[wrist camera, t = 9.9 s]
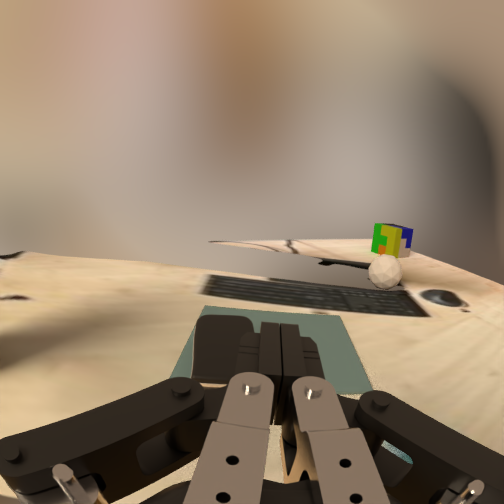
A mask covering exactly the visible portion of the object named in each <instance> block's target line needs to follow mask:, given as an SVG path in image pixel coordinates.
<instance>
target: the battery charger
mask: <svg viewBox="0 0 504 504" xmlns="http://www.w3.org/2000/svg"><path fill="white" fill-rule="evenodd" d="M247 332H254V327H253V323H252V321H251V320H250V319H249V318H247V317H245V316H239V315H214V314H209V315H203V316H201V317H200V318H199V319H198V320H197V323H196V326H195V332H194V339H193V362H192V372H191V379H194V380H196V381H198V382H199V383H200V384H201V385H202V386H203V388H204V390H205V389H216V388H221V387H223V386H226V385H227V384H229V382H230V380H231V378H232V377H234V374H235V368H236V363H237V357H238V351H239V346H240V340H241V337H242V336H243V335H244V334H245V333H247ZM254 333H255V332H254Z"/></svg>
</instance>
